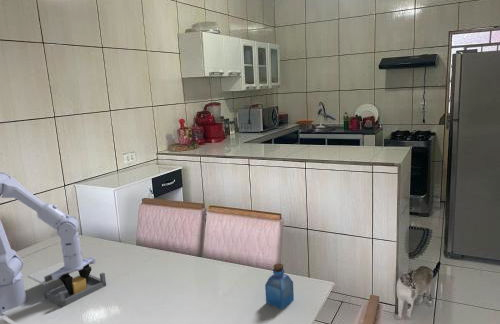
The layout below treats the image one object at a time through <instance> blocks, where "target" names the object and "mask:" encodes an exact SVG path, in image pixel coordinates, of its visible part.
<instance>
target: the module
mask: <svg viewBox="0 0 500 324" xmlns="http://www.w3.org/2000/svg"><path fill="white" fill-rule="evenodd" d="M72 287H73V294H72V295H74V294H76V293H78V292H80V291H83V290H85V289H87V284H86V279H85V278H83V277H80V275H77V276H75V277H73V279H72Z"/></svg>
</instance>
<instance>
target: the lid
mask: <svg viewBox="0 0 500 324" xmlns="http://www.w3.org/2000/svg"><path fill="white" fill-rule="evenodd" d="M62 267H64V260H63V261H61V262H57V263H56V264H53V265H51V266H48V267H46V268H44V269H40V270H39V271H35V272H33V273H31V274H28V275H27V278H29V279H31V280H32V281H35V282H37V283H39V284H41V285H42V286H43V285H45V284H49V283H52V282H54V281H55V280H54V279H52V274H51V273H54V272H56V271H57V270H59V269H60V268H62ZM74 272H78V271H77V270H76V271H74ZM74 272H71V273H69V275H71V274H72V273H74ZM58 279H59V278H58ZM58 279H57V280H58ZM59 280H60V279H59Z"/></svg>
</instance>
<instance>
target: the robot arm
mask: <svg viewBox="0 0 500 324" xmlns="http://www.w3.org/2000/svg"><path fill="white" fill-rule="evenodd" d="M0 198H2V199H11V198H13V199H16V200H17V201H19V202H20V203H22V204H24V205H26V206H27V207H28V208H30V209H31V210H33V211H35V212H36V216H37V218H38V219H40V220H41V221H43V222H44V223H45V224H47V226H49V227H51V228H52V229H54V230H56V234H57V237H59V238H60V245H61V254H62V260H63V261H64V267H62V268H60V269H59V270H57V271H56V272H54V273H51V274H52V279H54V281H57V280H58V278H59V280H60V281H61V283H62V285H65V287H66V289H67V291H68V294H70V295H72V294H73V287H72V279H73V278H74V277H73V276H71V274H72V273H74V271H75V272H78V274H79V275H78V276H80V277H83V278H85V279H86V284H87V282H88V277H89V274H90V275H91V272H92V266H90V265H92V264H93V265H94V264H96V258H95V257H93V256H90V257H87V258H85V259H83V252H82V253H81V251H82V248H81V246H82V245H81V239H80V235H79V231H78V229H79V227H80V223H79V222H80V221H79V220H78V219H77V218H76V216H72V215H71V214H69V213H67V214H66V213H65V212H63V211H62V210H60V208H58V207H59V206H58V205H57V204H56V203H55V204H52V203H51V202H49V203H44V202H43V201H42V200H41V199H39V197H37V196H36V195H34V194H33V192H31V191H30V190H28V189H27V188H26V187H24V186H23V185H22V184H21V183H19V181H18V180H17V179H16V178H15V177H11V175H9V173H7V172H1V171H0ZM23 267H24V260H23V259H22V258H21V257H20V256H19V255H18V254H17V252H16V250H14V249H13V248H11V245H10V242H9V240H8V237H7V234H6V231H5V228H4V226H3V224H2V221H1V219H0V316H5V314H4V313H5V312H6V311H9V310H11V309H15V308H17V307H19V306H22V305H24V304H25V303H26V302H27V294H26V289H25V283H24V278H23V274H22V271H21V270H22V269H23ZM76 270H77V271H76ZM71 272H72V273H71ZM69 273H70V274H69Z"/></svg>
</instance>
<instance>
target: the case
mask: <svg viewBox="0 0 500 324" xmlns="http://www.w3.org/2000/svg"><path fill="white" fill-rule="evenodd" d="M42 286H43V287H42V289H43V294H44V299H46V300H48V301H49V302H51V303H53V304H54V305H57V306H58V307H61V308H64V307H67V306H68V305H71V304H73V303H75V302H76V301H79V300H80V299H83V298H84V297H87V296H89V295H91V294H92V293H94V292H97V291H99V290H101V289H103V288H104V287H106V286H107V280H106V273H105V272H99V277H96V276H94V275H92V274H91V273H90V274H89V277H88V282H87V289H85V290H83V291H80V292H78V293H76V294H74V295H70V294H68V291H67V289H66V287H65V285H64V284H62V285H59V286H57V287H56V288H53V289H50V287H49V283H47V284H45V285H43V284H42Z"/></svg>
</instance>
